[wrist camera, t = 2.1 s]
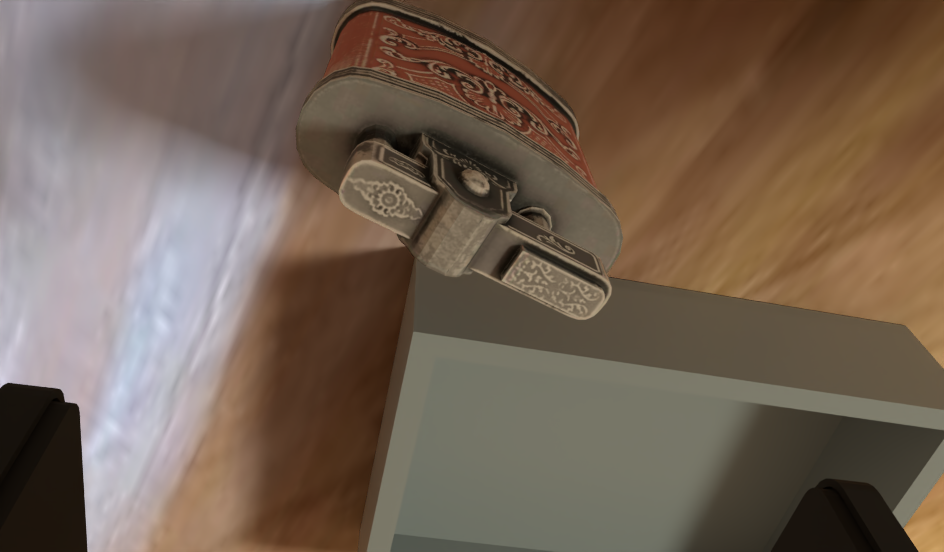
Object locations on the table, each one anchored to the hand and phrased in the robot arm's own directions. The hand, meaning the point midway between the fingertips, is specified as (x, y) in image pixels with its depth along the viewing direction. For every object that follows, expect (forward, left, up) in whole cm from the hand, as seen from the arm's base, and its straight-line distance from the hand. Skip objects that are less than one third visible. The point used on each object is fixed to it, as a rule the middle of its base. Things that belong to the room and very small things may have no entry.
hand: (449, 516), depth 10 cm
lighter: (0, 0, -17) cm, 17 cm away
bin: (-9, +13, -17) cm, 23 cm away
